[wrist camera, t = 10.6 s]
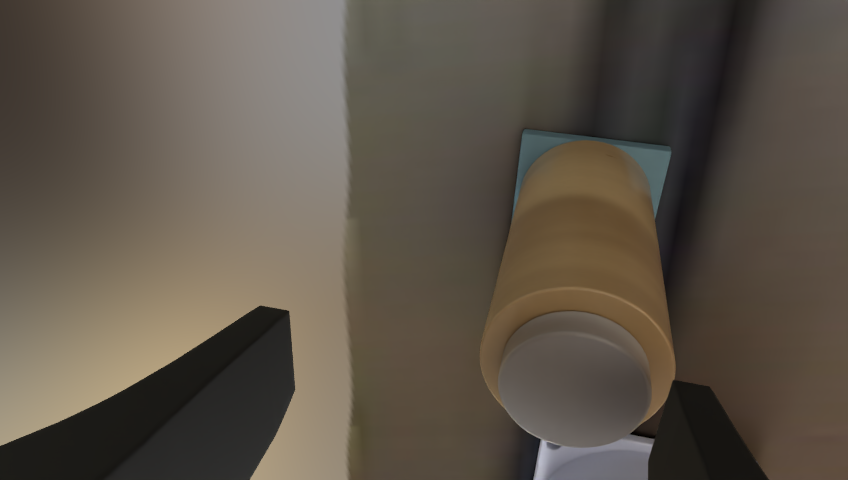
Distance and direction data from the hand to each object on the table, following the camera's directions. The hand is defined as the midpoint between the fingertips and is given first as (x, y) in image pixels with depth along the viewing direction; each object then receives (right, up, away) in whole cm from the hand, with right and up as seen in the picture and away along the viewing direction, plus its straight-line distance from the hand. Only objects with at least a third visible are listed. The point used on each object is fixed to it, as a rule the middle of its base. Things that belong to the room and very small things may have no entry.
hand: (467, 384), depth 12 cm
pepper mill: (+4, +4, +8) cm, 10 cm away
